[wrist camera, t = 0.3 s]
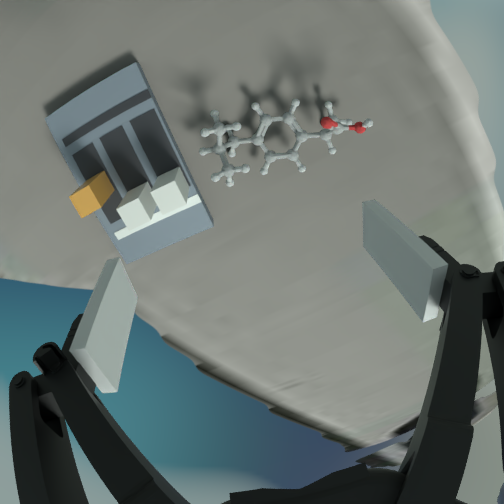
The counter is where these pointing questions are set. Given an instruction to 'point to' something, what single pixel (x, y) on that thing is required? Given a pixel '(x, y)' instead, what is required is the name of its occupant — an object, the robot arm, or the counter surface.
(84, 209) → the toggle
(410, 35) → the counter surface
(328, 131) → the molecular model
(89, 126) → the breaker panel
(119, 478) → the robot arm
